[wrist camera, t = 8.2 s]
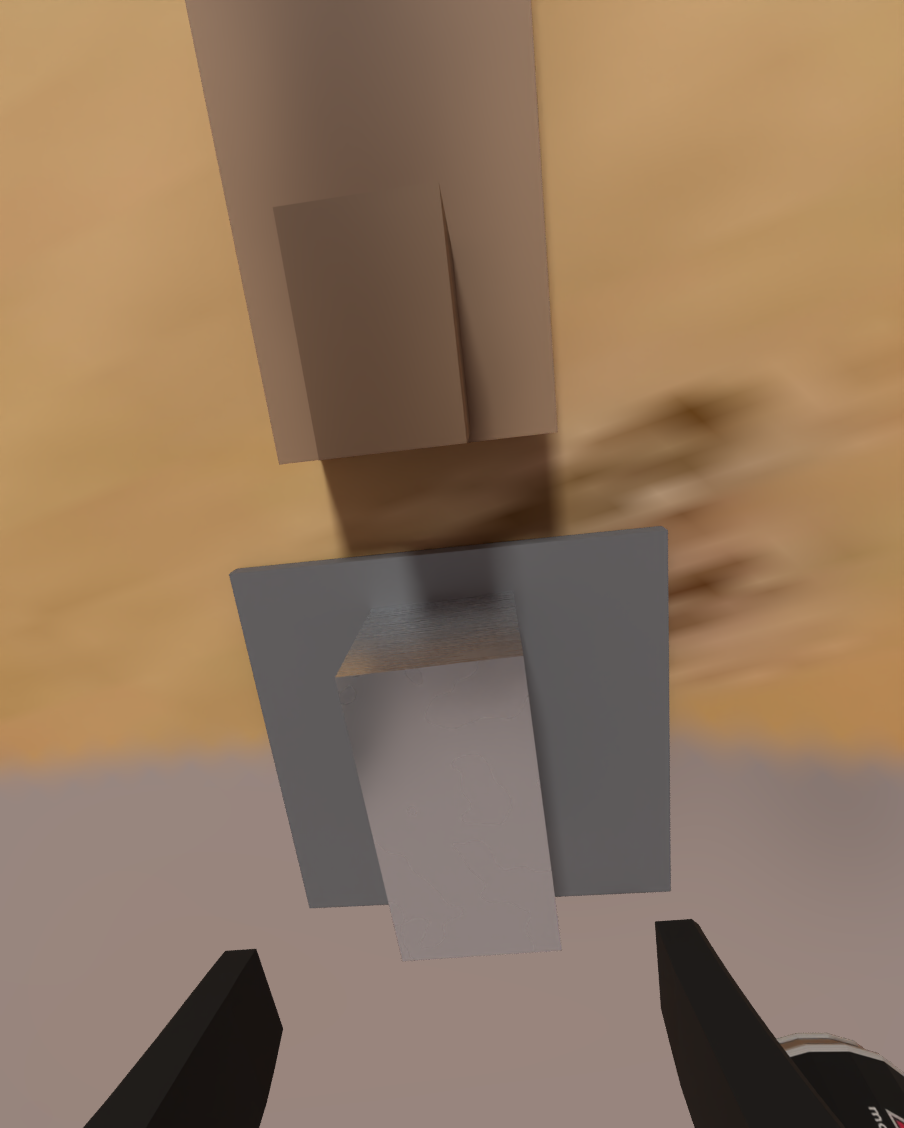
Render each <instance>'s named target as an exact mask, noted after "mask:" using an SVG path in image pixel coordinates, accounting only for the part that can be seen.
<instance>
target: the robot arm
mask: <svg viewBox="0 0 904 1128" xmlns="http://www.w3.org/2000/svg"><path fill="white" fill-rule="evenodd" d="M655 930H656V944H657V958H658V972H659V986H660V1000H661V1010H662V1014H663V1018H664V1022H665V1026H666V1029H667V1034H668V1038H669V1042H670V1046H671V1050H672V1054H673V1058H674V1061H675V1065H676V1069H677V1073H678V1076H679V1081H680V1085H681V1088H682V1091H683V1094H684V1097H685V1100H686V1103H687V1106H688V1109H689V1112H690V1115H691V1118H692V1121H693V1124H694V1126H695V1128H845V1126H844V1125H843V1124H842V1123H841V1122H840V1120H839V1119H838V1118H837V1117H836V1115H835V1114H834V1113H833V1112H832V1111H831V1109H830V1108H829V1107H828V1106H827V1104H826V1103H825V1102H824V1100H823V1099H822V1098H821V1097H820V1095H819V1094H818V1093H817V1092H816V1090H815V1089H814V1088H813V1087H812V1085H811V1084H810V1083H809V1081H808V1080H807V1079H806V1078H805V1076H804V1075H803V1074H802V1072H801V1071H800V1070H799V1068H798V1067H797V1066H796V1064H795V1063H794V1062H793V1060H792V1059H791V1058H790V1056H789V1055H788V1054H787V1052H786V1051H785V1050H784V1048H783V1047H782V1046H781V1045H780V1043H779V1042H778V1041H777V1039H776V1038H775V1037H774V1035H773V1034H772V1033H771V1031H770V1030H769V1029H768V1027H767V1026H766V1024H765V1023H764V1022H763V1020H762V1019H761V1018H760V1016H759V1015H758V1014H757V1012H756V1011H755V1009H754V1008H753V1007H752V1005H751V1004H750V1002H749V1001H748V999H747V998H746V996H745V995H744V994H743V992H742V991H741V989H740V988H739V986H738V985H737V984H736V982H735V981H734V979H733V978H732V976H731V975H730V973H729V972H728V970H727V969H726V968H725V966H724V964H723V963H722V961H721V960H720V958H719V957H718V955H717V954H716V952H715V951H714V949H713V947H712V946H711V944H710V943H709V941H708V939H707V938H706V936H705V935H704V933H703V931H702V930H701V928H700V926H699V925H698V924H697V923H696V922H694V921H693V920H692V919H687V920H671V921H656V922H655ZM282 1031H283V1027H282V1024H281V1021H280V1018H279V1016H278V1012H277V1009H276V1006H275V1003H274V1000H273V997H272V995H271V991H270V988H269V985H268V983H267V980H266V977H265V974H264V971H263V968H262V965H261V962H260V959H259V956H258V953H257V950H256V949H249V950H248V949H247V950H233V951H225V952H224V953H223V954H222V956H221V957H220V958H219V959H218V961H217V962H216V963H215V964H214V966H213V967H212V968H211V969H210V970H209V972H208V973H207V974H206V976H205V977H204V978H203V979H202V981H201V982H200V983H199V985H198V986H197V987H196V988H195V990H194V991H193V992H192V993H191V995H190V996H189V997H188V999H187V1000H186V1001H185V1002H184V1004H183V1005H182V1006H181V1008H180V1009H179V1010H178V1011H177V1013H176V1014H175V1015H174V1017H173V1018H172V1019H171V1020H170V1022H169V1023H168V1024H167V1025H166V1027H165V1028H164V1029H163V1030H162V1032H161V1033H160V1034H159V1036H158V1037H157V1038H156V1039H155V1041H154V1042H153V1043H152V1044H151V1046H150V1047H149V1048H148V1050H147V1051H146V1052H145V1053H144V1054H143V1056H142V1057H141V1058H140V1059H139V1061H138V1062H137V1063H136V1064H135V1066H134V1067H133V1068H132V1069H131V1071H130V1072H129V1073H128V1074H127V1076H126V1077H125V1078H124V1079H123V1080H122V1082H121V1083H120V1084H119V1086H118V1087H117V1088H116V1089H115V1091H114V1092H113V1093H112V1094H111V1095H110V1096H109V1098H108V1099H107V1100H106V1101H105V1103H104V1104H103V1105H102V1106H101V1107H100V1109H99V1110H98V1111H97V1112H96V1113H95V1114H94V1116H93V1117H92V1118H91V1119H90V1120H89V1121H88V1123H87V1124H86V1125H85V1126H84V1128H259V1126H260V1123H261V1120H262V1116H263V1113H264V1109H265V1107H266V1103H267V1099H268V1095H269V1091H270V1086H271V1082H272V1078H273V1073H274V1069H275V1064H276V1059H277V1055H278V1050H279V1045H280V1041H281V1036H282Z"/></svg>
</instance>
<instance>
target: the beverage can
mask: <svg viewBox="0 0 904 1128" xmlns="http://www.w3.org/2000/svg"><path fill="white" fill-rule="evenodd" d="M777 1041H778V1042H779V1043H780V1045H781V1046H782V1047H783V1048H784V1050H785V1051H786V1052H787V1054H788V1055H789V1056H790V1058H791V1059H792V1060H793V1062H794V1063H795V1064H796V1066H797V1067H798V1068H799V1070H800V1071H801V1072H802V1074H803V1075H804V1076H805V1078H806V1079H807V1080H808V1081H809V1083H810V1084H811V1085H812V1087H813V1088H814V1089H815V1090H816V1092H817V1093H818V1094H819V1095H820V1097H821V1098H822V1099H823V1100H824V1102H825V1103H826V1104H827V1106H828V1107H829V1108H830V1109H831V1111H832V1112H833V1113H834V1114H835V1115H836V1117H837V1118H838V1119H839V1120H840V1122H841V1123H842V1124H843V1125H844V1126H845V1128H904V1072H902V1071H901V1070H900V1069H898V1068H897V1067H896V1066H894V1065H893V1064H892V1063H890V1062H889V1061H888V1060H886V1059H885V1058H884V1057H883V1056H881V1055H880V1054H879V1053H876V1052H873V1051H869V1050H866V1049H864V1048H863V1047H861V1046H860V1045H859V1044H857V1043H856V1042H855V1041H853V1040H849V1039H846V1038H842V1037H839V1036H835V1035H832V1034H828V1033H795V1034H792V1035H788V1036H785V1037H781V1038H778V1039H777Z"/></svg>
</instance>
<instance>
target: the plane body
mask: <svg viewBox="0 0 904 1128" xmlns="http://www.w3.org/2000/svg"><path fill="white" fill-rule="evenodd" d="M185 3H186V8H187V13H188V18H189V22H190V27H191V32H192V37H193V42H194V47H195V52H196V57H197V62H198V67H199V72H200V77H201V82H202V87H203V91H204V96H205V101H206V106H207V111H208V116H209V121H210V126H211V131H212V136H213V141H214V146H215V151H216V156H217V160H218V165H219V170H220V175H221V180H222V185H223V190H224V195H225V200H226V205H227V210H228V215H229V220H230V225H231V229H232V234H233V239H234V244H235V249H236V254H237V259H238V264H239V269H240V274H241V279H242V284H243V289H244V294H245V298H246V303H247V308H248V313H249V318H250V323H251V328H252V333H253V338H254V343H255V348H256V353H257V358H258V363H259V367H260V372H261V377H262V382H263V387H264V392H265V397H266V402H267V407H268V412H269V417H270V422H271V427H272V431H273V436H274V441H275V446H276V451H277V456H278V461H279V464H288V463H296V462H305V461H314V460H325V459H334V458H343V457H351V456H360V455H368V454H377V453H386V452H394V451H403V450H411V449H420V448H429V447H437V446H446V445H454V444H463V443H468V442H477V441H486V440H494V439H503V438H511V437H520V436H529V435H537V434H546V433H554V432H558V429H557V413H556V397H555V381H554V365H553V349H552V333H551V317H550V301H549V285H548V269H547V253H546V237H545V220H544V204H543V188H542V172H541V156H540V140H539V124H538V108H537V92H536V76H535V60H534V44H533V28H532V12H531V0H185Z"/></svg>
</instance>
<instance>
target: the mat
mask: <svg viewBox="0 0 904 1128" xmlns="http://www.w3.org/2000/svg"><path fill="white" fill-rule="evenodd" d="M229 576H230V580H231V584H232V588H233V593H234V597H235V601H236V605H237V609H238V613H239V617H240V622H241V626H242V630H243V634H244V638H245V642H246V646H247V651H248V655H249V659H250V663H251V667H252V671H253V675H254V680H255V684H256V688H257V692H258V696H259V700H260V704H261V709H262V713H263V717H264V721H265V725H266V729H267V733H268V738H269V742H270V746H271V750H272V754H273V758H274V762H275V767H276V771H277V775H278V779H279V783H280V787H281V791H282V795H283V800H284V804H285V808H286V812H287V816H288V820H289V824H290V828H291V833H292V837H293V841H294V845H295V849H296V854H297V858H298V862H299V866H300V870H301V874H302V878H303V883H304V887H305V890H306V895H307V899H308V903H309V907H310V908H326V907H348V906H369V905H389V903H388V899H387V895H386V890H385V886H384V882H383V878H382V874H381V869H380V865H379V861H378V857H377V853H376V848H375V844H374V840H373V836H372V832H371V827H370V823H369V819H368V815H367V811H366V806H365V802H364V798H363V794H362V789H361V785H360V781H359V777H358V773H357V768H356V764H355V760H354V756H353V752H352V747H351V743H350V739H349V735H348V731H347V726H346V722H345V718H344V714H343V710H342V705H341V701H340V697H339V693H338V689H337V684H336V680H335V677H336V675H337V673H338V671H339V669H340V667H341V665H342V663H343V662H344V660H345V658H346V656H347V654H348V652H349V650H350V648H351V647H352V645H353V643H354V641H355V639H356V637H357V635H358V633H359V631H360V630H361V628H362V626H363V624H364V622H365V620H366V618H367V616H368V614H369V613H370V611H371V609H377V608H385V607H393V606H400V605H408V604H416V603H424V602H431V601H439V600H447V599H455V598H462V597H470V596H478V595H486V594H493V593H501V592H509V591H513V595H514V601H515V607H516V614H517V620H518V626H519V632H520V638H521V644H522V651H523V657H524V665H525V672H526V680H527V688H528V695H529V703H530V710H531V718H532V726H533V733H534V741H535V749H536V756H537V764H538V771H539V779H540V787H541V794H542V802H543V810H544V817H545V825H546V832H547V840H548V848H549V855H550V863H551V871H552V878H553V886H554V893H555V897H561V896H582V895H602V894H622V893H623V894H624V893H646V892H666V891H671V873H670V871H671V868H670V867H671V866H670V746H669V627H668V530H667V529H665V528H664V527H662V526H657V527H647V528H637V529H627V530H617V531H607V532H597V533H588V534H578V535H568V536H558V537H548V538H538V539H528V540H518V541H508V542H498V543H488V544H478V545H468V546H458V547H448V548H439V549H429V550H419V551H409V552H399V553H389V554H379V555H369V556H359V557H349V558H339V559H329V560H319V561H309V562H300V563H290V564H280V565H270V566H260V567H250V568H240V569H236V570H234V571H233V572H231V573H230V574H229Z"/></svg>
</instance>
